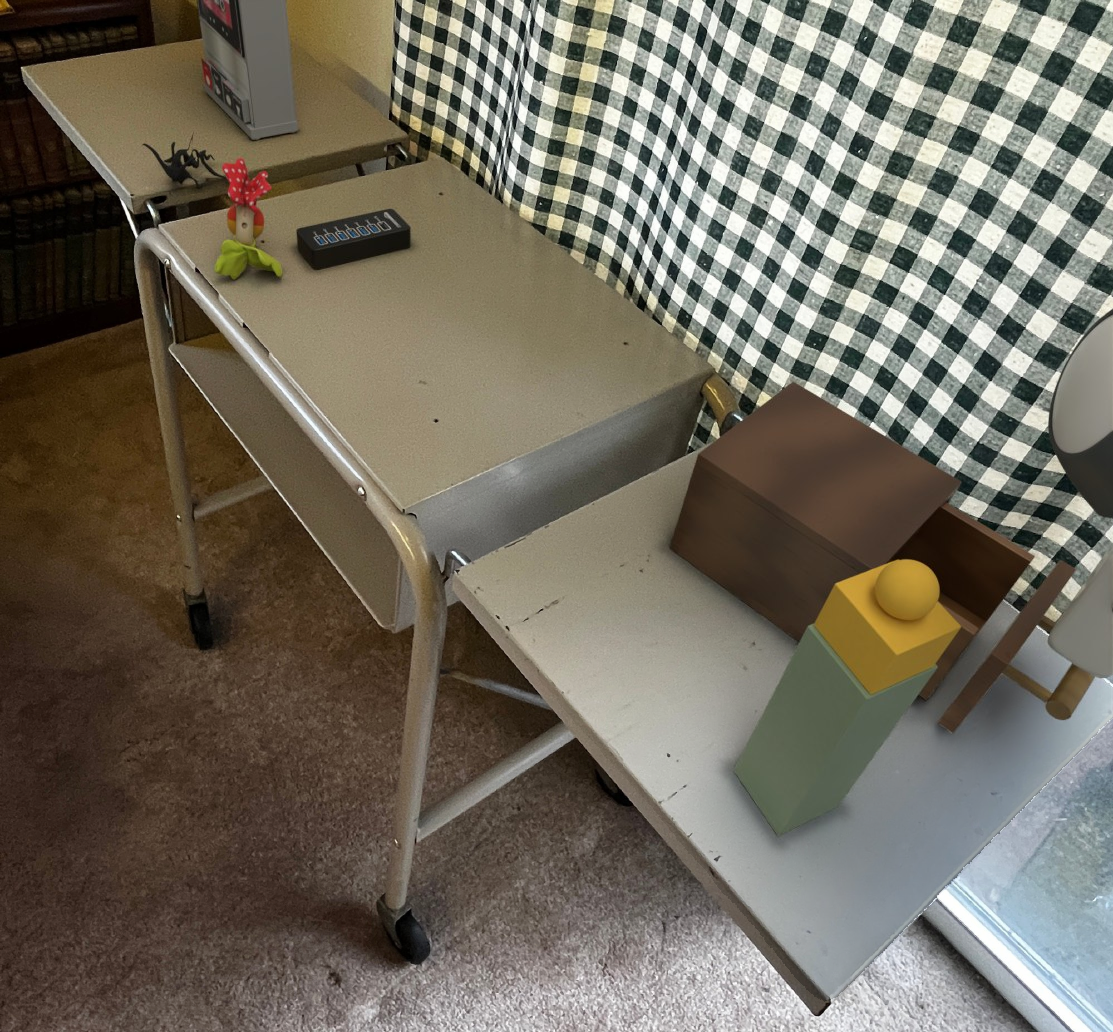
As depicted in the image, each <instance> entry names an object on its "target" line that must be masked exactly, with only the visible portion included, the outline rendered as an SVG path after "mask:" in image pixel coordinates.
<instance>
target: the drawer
mask: <svg viewBox="0 0 1113 1032" xmlns="http://www.w3.org/2000/svg"><path fill="white" fill-rule="evenodd" d="M1035 557H1036V556H1035V555H1034V554H1032V553H1031V552H1029V551H1027V550H1026V549H1024V548H1022V547H1021V546H1019V545H1017V544H1016V543H1014V542H1012V541H1011V540H1009V539H1008V538H1006V537H1004V536H1003V535H1001V534H999V533H998V532H996V531H995V530H993V529H991V528H989V527H988V526H987V525H984V523H981V522H980V521H978V520H976V519H974V518H973V517H972V516H970V515H968V514H966V513H965V512H963V511H961V510H960V509H958V508H956V507H955V506H953V505H952V504H950V503H949V504H948V503H947V502H946V503H945V504H944V505H943V506H942V507H941V508H940V509H939V510H938V511H937V512H936V513H935V514H934V515H933V517H932V518H931V519H930V520H929V521H928V522H927V523H926V524H925V525H924V526H923V527H922V528H921V529H920V531H919V532H918V533H917V534H916V535H915V536H914V537H913V538H912V539H911V540H910V541H909V542H908V543H907V545H906V546H905V547H904V548H903V549H902V550H901V551H900V552H899V553H898V554H897V555H896V556H895V557H894V559H893V560H892V561H891V562H893V561H895V560H904V559H908V560H915V561H918V562H921V563H923V564H924V565H926V566H927V567H929V568H930V569H931V570H932V571H933V573H934V574H935V576H936V578H937V580H938V583H939V588H940V592H939V598H938V602H939V603H940V604H941V605H942V606H943V607H944V608H945V609H946V611H947V612H948V613H949V614H950V615H951V616H952V617H953V618H954V619H955V620H956V621H957V622H958V623H959V624H960V626H961V628H960V630H959V631H958V632H957V634H956V635H955V637H954V638H953V639H952V641H951V642H950V644H949V645H948V646H947V648H946V649H945V651H944V652H943V653H942V655H941V656H940V658H939V659H938V661H937V662H936V663H935V664H936V665H937V667H938V668H937V669H936V671H935V672H934V673H933V675H932V676H931V677H930V679H929V680H928V682H927V683H926V684H925V686H924V687H923V689H922V690H921V691H920V693H919V694H918V696H920V697H921V698H923V699H924V700H925V701H927V700H929V698H930V697H931V696H932V695H933V693H934V692H935V691H936V689H937V688H938V687H939V686H940V684H941V683H942V682H943V681H944V679H945V678H946V676H948V673H949V672H950V671H951V670H952V668H953V667H954V666H955V665H956V663H957V662H958V660H959V659H960V658H961V657H962V655H963V654H964V653H965V652H966V650H967V649H968V647H969V646H970V645H971V644H972V642H973V641H974V639H975V638H976V637H977V636H978V634H979V633H980V631H981V630H982V629H983V628H984V627H985V625H986V624H987V622H988V621H989V620H990V618H991V617H992V616H993V615H994V613H995V612H996V610H997V609H998V608H999V606H1000V605H1001V604H1002V602H1003V600H1004V599H1006V597H1007V595H1008V594H1009V593H1010V592H1011V590H1012V588H1013V587H1014V586H1015V585H1016V583H1017V582H1018V581H1019V579H1020V578H1021V577H1022V575H1023V574H1024V572H1025V571H1026V570H1027V569H1028V567H1029V565H1030V564H1031V563H1032V561H1033V560H1034V559H1035ZM1076 571H1077V568H1075V567H1073V566H1072V565H1070V564H1068V563H1067V562H1065V561H1064V560H1061V559H1059V561H1058V562H1057V563H1056V564H1055V566H1054V567H1053V568H1052V569H1051V570H1050V572H1049V574H1048V575H1047V576H1046V577H1045V579H1044V580H1042V582H1041V584H1040V585H1039V587H1038V588H1037V589H1036V590H1035V591H1034V593H1033V594H1032V595H1031V597H1030V598H1029V599H1028V601H1027V602H1026V603H1025V604H1024V606H1023V607H1022V608H1021V610H1020V611H1019V612H1018V614H1017V615H1016V616H1015V618H1013V620H1012V621H1011V623H1010V624H1008V625H1009V626H1008V627H1007V628H1006V629H1005V630H1004V632H1003V633H1002V635H1001V636H1000V637H999V638H998V640H997V641H996V642H995V644H994V645H993V647H992V649H991V650H990V651H989V652H988V654H987V655H986V656H985V657H984V659H983V660H982V661H981V663H980V664H979V665H978V667H977V669H976V670H975V671H974V672H973V674H972V675H971V677H970V678H969V680H968V681H967V682H966V683H965V685H964V686H963V687H962V689H961V690H960V691H959V693H958V695H956V697H955V698H954V699H953V701H952V702H951V704H950V705H949V706H948V708H947V709H946V711H945V712H944V713H943V715H942V716H941V717H940V719H939V720H938V721H937V723H938V725H940V726H941V727H943V728H944V729H946V730H947V731H948V732H949V733H951V734H954V733H955V732H956V731H957V730H958V728H960V726H961V725H962V724H963V722H964V721H965V720H966V719H967V717H968V716H969V715H970V713H972V712H973V711H974V709H975V707H976V706H977V705H978V704H979V702H980V701H982V699H983V698H984V696H985V695H986V694H987V693H988V691H989V690H990V689H991V688H992V687H993V685H994V684H995V683H996V682H997V680H998V679H999V678H1001V675H1003V676H1005V677H1006V678H1007V679H1008V680H1009V681H1012V682H1013V683H1015V684H1016V685H1018V686H1019V687H1021V688H1022V689H1023V690H1025V691H1027V693H1030V694H1031V695H1032V696H1034V697H1036V698H1037V699H1038V700H1040V701H1042V702H1043V703H1045V711H1046V712H1047V714H1048V715H1049V716H1051V717H1052V718H1054V719H1055V720H1059V721H1068V720H1069V719H1071V717H1072V716H1073V714H1074V713H1075V711H1076V710H1077V707H1078V706H1079V705H1080V703H1081V701H1082V700H1083V698H1084V696H1085V695H1086V692H1087V691H1088V690H1089V689H1090V687H1091V685H1092V683H1093V682H1094V680H1095V678H1096V677H1095V676H1093V675H1091V674H1089V673H1087V672H1086V671H1084V670H1082V669H1081V668H1079V667H1077V666H1076V665H1074V664H1073V663H1071V664H1070V665H1069V667H1068V668H1067V670H1066V671H1065V673H1064V674H1063V676H1062V678H1061V679H1060V681H1059V682H1058V684H1057V685H1056V687H1055V688H1054V690H1053V691H1050V690H1049V689H1048V688H1046V687H1045V686H1043V685H1042V684H1040V683H1038V682H1037V681H1035V680H1034V679H1032V678H1031V677H1029V676H1028V675H1027V674H1025V673H1023V672H1022V671H1020V670H1019V669H1017V668H1016V667H1015V666H1013V665H1011V663H1012V661H1013V660H1014V658H1016V656H1017V654H1018V653H1019V652H1020V650H1021V649H1022V647H1023V646H1024V644H1025V643H1026V642H1027V640H1028V639H1029V637H1030V636H1031V634H1032V633H1033V632H1034V630H1035V629H1036V628H1037V626H1039V627H1041V628H1042V629H1044V630H1045V631H1047V632H1048V633H1050V632H1051V630H1052V629H1053V627H1054V626H1055V624H1056V623H1057V621H1054V620H1053V619H1051V618H1050V617H1048V616H1046V613H1047V612H1048V611H1049V609H1050V608H1051V607H1052V605H1053V604H1054V602H1055V601H1056V600H1057V598H1058V597H1059V595H1060V593H1061V592H1062V591H1063V589H1064V588H1065V587H1066V585H1067V584H1068V582H1069V581H1070V579H1071V578H1072V577H1073V576H1074V574H1075V572H1076Z"/></svg>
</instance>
